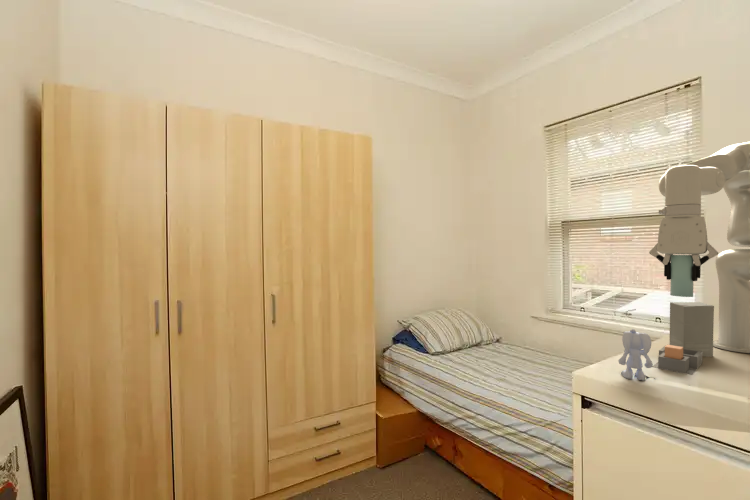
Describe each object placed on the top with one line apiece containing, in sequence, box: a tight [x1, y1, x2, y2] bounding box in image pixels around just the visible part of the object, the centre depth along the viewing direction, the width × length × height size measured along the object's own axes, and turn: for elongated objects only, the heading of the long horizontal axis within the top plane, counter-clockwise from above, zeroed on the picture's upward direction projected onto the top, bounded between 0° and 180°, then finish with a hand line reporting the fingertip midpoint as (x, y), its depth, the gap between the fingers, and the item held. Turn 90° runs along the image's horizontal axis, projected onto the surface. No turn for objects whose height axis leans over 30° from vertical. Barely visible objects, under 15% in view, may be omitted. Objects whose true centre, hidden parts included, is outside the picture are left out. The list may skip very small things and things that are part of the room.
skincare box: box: [669, 301, 715, 358], centre depth 111 cm, size 8×7×16 cm
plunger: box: [664, 344, 683, 360], centre depth 96 cm, size 3×3×5 cm
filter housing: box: [651, 345, 703, 376], centre depth 100 cm, size 15×8×4 cm, turn 132°
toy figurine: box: [617, 328, 654, 382], centre depth 92 cm, size 7×6×12 cm
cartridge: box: [669, 254, 694, 298], centre depth 102 cm, size 5×5×11 cm
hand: (681, 279), depth 102 cm, fingers closed on cartridge, 4 cm apart
